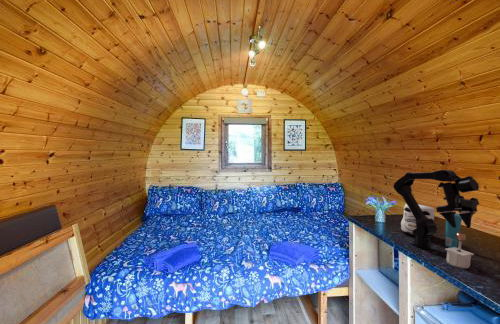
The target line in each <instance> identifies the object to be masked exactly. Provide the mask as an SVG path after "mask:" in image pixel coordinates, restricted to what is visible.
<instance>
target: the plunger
mask: <svg viewBox="0 0 500 324" xmlns="http://www.w3.org/2000/svg"><path fill="white" fill-rule="evenodd" d="M456 239H458V243H457V248H458V252H461V249H462V243H463V241H464V242H465V241H466V234H465V233H461V232H459V233H457V234H456Z"/></svg>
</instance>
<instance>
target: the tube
mask: <svg viewBox="0 0 500 324" xmlns="http://www.w3.org/2000/svg"><path fill="white" fill-rule="evenodd" d="M459 214H460V213H459V212H458V213H457V212H456V213H455V215H454V218H455V223H456V228H453V227H452V226H451V225H450V224H449V222H448V221H447V220H446V219H445V236H444V237H445V239H444V240H445V243H444V244H445V245H444V246H446V248H447V247H448V248H452V247H456V248H458V243H459V240H458V239H456V234H457V233H460V229H461V225H462V222H463V220H462V218H461V217H460V215H459Z"/></svg>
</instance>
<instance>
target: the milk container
mask: <svg viewBox="0 0 500 324" xmlns="http://www.w3.org/2000/svg"><path fill="white" fill-rule="evenodd" d="M418 205H419V207H420V208H421V210H422V211H423V213H424V215H425V216H426V217H427V218H428V219H433V221H435V220H434V219H435V208H434V207H432V206H428V205H423V204H419V203H418ZM416 228H417V226H416V219H415V217H414V215H413V214H412V212H411V210H410V209H409V207H408V205H407V203H405V204H404V205H403V217H402V219H401V221H400V229H401V231H402V232H403V233H405V234H407V235H410V236H413V237H415V235H413V232H412V231H413V230H414V229H416Z"/></svg>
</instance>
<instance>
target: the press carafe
mask: <svg viewBox="0 0 500 324" xmlns="http://www.w3.org/2000/svg"><path fill="white" fill-rule="evenodd" d="M444 250H445V251H447V252H446V259H445V260H446V263H447V264H449V265H451V266H454V267H458V268H461V269H469V268H470V266H471V259H472V256H474V255H475V253H472V252H469V251H467V250H464V249H463V248H461V252H458V247H457V248H456V247H452V248H449V247H448V248H447V247H446V248H444Z"/></svg>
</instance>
